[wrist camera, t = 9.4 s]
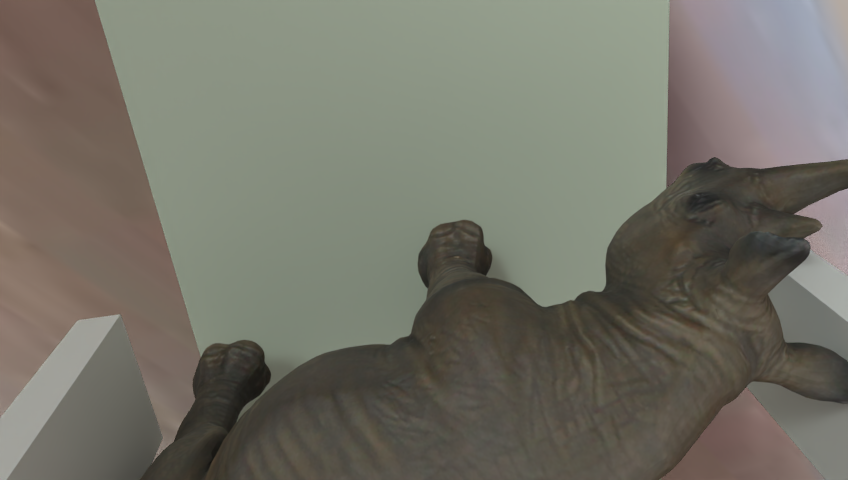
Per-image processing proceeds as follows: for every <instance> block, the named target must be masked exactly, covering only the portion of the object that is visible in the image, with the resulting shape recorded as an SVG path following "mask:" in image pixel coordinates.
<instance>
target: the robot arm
mask: <svg viewBox="0 0 848 480" xmlns="http://www.w3.org/2000/svg"><path fill="white" fill-rule="evenodd" d="M768 295H769V297H770V299H771V302H772V304H773V306H774V308H775V310H776V312H777V314H778V317H779V319H780V323H781V327H782V331H783V337H784V340H785V342H787V343H794V342H801V343H809V344H814V345H820V346H822V347H825V348H828V349H830V350H832V351H834V352H836V353H837V354H838V355H840V356H841V357H843V358H844V359H846V360H847V361H848V275H846V274H845V273H843V272H842V271H840V270H839V269H837V268H836V267H835V266H833V265H832V264H830V263H829V262H827V261H826V260H824V259H823V258H822V257H820V256H819V255H817V254H816V253H814V252H813V251H811V250H810V254H809V256H808V257H807V259H806V260H805V261H803V262H802V263H801V264H800V265H799V266H798V267H797V268H795V269H794V270H793V271H792V272H791V273H790V274H788V275H787V276H786V277H785V278H784V279H783V280H782V281H780V282H779V283H778V284H777V285H776V286H775V287H774V288H773V289H772V290H771V291H770V292H769V293H768ZM747 388H748V389H749V390H750V391H751V393H752V394H753V395H754V396H755V397H756V398H757V400H758V401H759V402H760V403H761V404H762V406H763V407H764V408H765V409H766V410H767V411H768V413H769V414H770V415H771V416H772V417H773V418H774V420H775V421H776V422H777V423H778V424H779V425H780V427H781V428H782V429H783V430H784V431H785V433H786V434H787V435H788V436H789V437H790V438H791V440H792V441H793V442H794V443H795V444H796V445H797V447H798V448H799V449H800V450H801V451H802V452H803V454H804V455H805V456H806V457H807V458H808V460H809V461H810V462H811V463H812V464H813V465H814V467H815V468H816V469H817V470H818V471H819V472H820V474H821V475H822V476H823V477H824V478H825V480H848V404H841V403H836V402H829V401H819V400H814V399H810V398H806V397H804V396H801V395H799V394H797V393H795V392H792V391H790V390H788V389H786V388H784V387H782V386H780V385H777V384H773V383H766V382H751V383H750V384H749V385H747ZM162 438H163V436H162V434H161V431H160V428H159V425H158V422H157V419H156V416H155V413H154V410H153V407H152V404H151V401H150V399H149V396H148V393H147V390H146V387H145V384H144V381H143V378H142V375H141V372H140V369H139V367H138V364H137V361H136V358H135V355H134V352H133V349H132V346H131V343H130V340H129V337H128V334H127V332H126V329H125V326H124V323H123V320H122V317H121V314H119V315H112V316H105V317H98V318H91V319H83V320H78V321H77V322H76V323H75V324H74V326H73V327H72V328H71V329H70V331H69V332H68V333H67V334H66V336H65V337H64V338H63V339H62V341H61V342H60V343H59V344H58V346H57V347H56V348H55V350H54V351H53V352H52V353H51V355H50V356H49V357H48V358H47V360H46V361H45V362H44V363H43V365H42V366H41V367H40V368H39V370H38V371H37V372H36V373H35V375H34V376H33V377H32V379H31V380H30V381H29V382H28V384H27V385H26V386H25V387H24V389H23V390H22V391H21V392H20V394H19V395H18V396H17V397H16V399H15V400H14V401H13V402H12V404H11V405H10V406H9V408H8V409H7V410H6V411H5V413H4V414H3V415H2V416H1V418H0V480H140V479H141V477H142V476H143V474H144V473H145V472H146V470H147V469H148V468H149V467H150V466H151V464H152V462H153V459H154V457H155V455H156V452H157V450H158V448H159V445H160V443H161V441H162Z"/></svg>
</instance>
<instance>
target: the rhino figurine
mask: <svg viewBox="0 0 848 480" xmlns="http://www.w3.org/2000/svg"><path fill="white" fill-rule="evenodd" d="M847 188H848V159H846V160H838V161H831V162H820V163H809V164H799V165H790V166H781V167H773V168H765V169H755V168H734V167H730V166H728V165H726V164H725V163H723V162H722V161H721V160H720V159H718V158H716V157H714V158H711V159H710V160H709V161H708V162H706V163H695V164H691V165H690V166H688V167H687V168H685V169H684V171H683V172H682V173H681V175H680V176H679V177H678V178H677V179H676V181H675V182H674V183H673V184H672V185H670V186H669V187H668V188H667V189H666V190H664V191H663V192H662V193H661V194H659V195H658V196H657V197H656V198H655V199H654V200H653V201H652V202H650V203H649V204H647V205H645V206H644V207H642V208H641V209H640V210H638V211H637V212H636V213H634V214H633V215H632V216H631V217H629V218H628V219H627V220H626V221H625V222H624V223H623V224H622V225H621V227H620V228H619V229H618V230H617V232H616V233H615V235H614V237H613V239H612V240H611V242H610V244H609V246H608V248H607V253H606V262H605V270H606V286H605V288H604V289H603V291H602V292H595V291H587V292H583V293H581V294H580V295H579V296H577V297H576V299H575V300H569V301H567V302H564V303H562V304H556V305H552V306H548V307H542V306H540V305H538V304H537V303H536V302H535V301H534V300H533V299H532V298H531V297H529V296H528V295H527V294H526V293H525V292H524V291H523V290H522V289H521V288H520V287H518V286H516V285H514V284H512V283H510V282H507V281H504V280H500V279H497V278H489V277H487V276H486V275H487V273H488V271H489V269H490V267H491V263H492V253H491V250H490V249H489V248H488V247H486V246H485V244H484V235H483V230H482V228H481V226H479V225H477V224H476V223H474V222H473V221H470V220H460V221H455V222H450V223H443V224H440V225H438V226H436V227H435V228H433V229H432V231H431V232H430V235H429V237H428V240H427V242H426V244H425V245H424V246H423V247H422V249H421V251H420V252H419V255H418V272H419V275H420V277H421V279H422V282H423V283H424V285H425V286H426V287H427V288H428V291H427V297H426V301H425V302H424V303H423V305H422V306H421V308H420V309H419V311H418V312H417V314H416V316H415V319H414V322H413V326H412V330H411V334H410V335H409V336H406V337H401V338H399V339H397V340H396V341H395V342H393V343H392V344H390V345H388V344H369V345H361V346H354V347H347V348H343V349H338V350H334V351H330V352H326V353H323V354H321V355H318V356H316V357H314V358H312V359H310V360H309V361H307V362H305V363H303V364H301V365H300V366H298V367H297V368H295V369H294V370H293V371H291V372H290V373H289V374H287V375H286V376H284V377H283V378H282V379H281V380H279V381H278V382H277V383H276V384H274V385H273V386H272V387H271V388H270V389H269V390H267V391H266V392H265V393H264V394H263V395H262V396H261V397H260V398H259V399H257V400H256V401H255V403H254V404H253V405H252V406H251V407H250V408H249V409H248V410H247V411H246V412H245V413H244V414H243V415H242V416H241V417H240V419H239V420H238V421H237V419H238V416H239V414H240V412H241V411H242V409H243V408H244V407H245V405H246V404H248V403H249V402H250V401H252V400H254V399H255V398H257V397H258V396H260V395H261V393H262V392H263V391H264V389H265V387H266V386H267V385H268V384H269V382H270V379H271V372H270V369H269V367H268V366H267V365H266V364H265V354H264V351H263V349H262V348H261V347H260V346H259V345H258V344H257V343H255V342H253V341H250V340H239V341H236V342H234V343H231V344H222V343H214V344H212V345H210V346H209V347H207V348H206V349H205V351H204V352H203V354H202V356H201V358H200V361H199V364H198V367H197V369H196V372H195V375H194V378H193V391H194V395H195V398H196V400H195V402H194V404H193V406H192V408H191V409H190V411H189V412H188V414H187V415H186V417H185V418H184V420H183V421H182V423H181V425H180V427H179V430H178V432H177V435H176V438H175V440H174V442H173V443H172V444H170V445H169V446H168V447H167V448H166V449H165V450H163V451H162V452H161V454H160V455H159V456H158V457H157V458H156V460H155V461H154V462H153V463H152V465H151V466H150V467H149V468H148V469H147V470H146V472H145V473H144V474H143V476H142V477H141V479H140V480H659V479H661V478H662V477H663V476H664V475H666V474H667V473H668V472H670V471H671V470H672V469H673V468H674V467H675V466H676V465H677V464H678V463H679V462H680V461H681V459H682V458H683V457H684V456H685V454H686V453H687V452H688V451H689V449H690V448H691V447H692V445H693V444H694V443H695V442H696V440H697V439H698V438H699V436H700V435H701V434H702V433H703V431H704V430H705V429H706V428H707V426H708V425H709V424H710V423H711V421H712V420H713V419H714V417H715V416H716V415H717V414H718V412H719V411H720V410H721V408H722V407H723V406H724V405H726V404H728V403H730V402H731V401H733V400H734V399H736V398H737V397H738V395H739V394H740V393H741V392H742V391H743V390H744V389H745V388H746V387H747V385H749V384H750V383H751V382H766V383H773V384H777V385H780V386H782V387H784V388H786V389H788V390H790V391H792V392H795V393H797V394H799V395H801V396H804V397H806V398H810V399H814V400H819V401H829V402H836V403H841V404H848V361H847V360H846V359H844V358H843V357H841V356H840V355H838V354H837V353H836V352H834V351H832V350H830V349H828V348H825V347H822V346H820V345H814V344H809V343H801V342H794V343H787V342H785V340H784V337H783V331H782V327H781V323H780V319H779V317H778V314H777V312H776V310H775V308H774V306H773V304H772V302H771V299H770V297H769V295H768V293H769V292H770V291H771V290H772V289H773V288H774V287H775V286H776V285H777V284H778V283H779V282H780V281H782V280H783V279H784V278H785V277H786V276H787V275H788V274H790V273H791V272H792V271H793V270H794V269H795V268H797V267H798V266H799V265H800V264H801V263H802V262H803V261H805V260H806V259H807V257H808V256H809V254H810V244H809V242H808V241H807V240H805V239H803V238H805V237H807V236H809V235H811V234H813V233H815V232H817V231H819V230H820V229H821V227H822V224H821V223H820V222H819V221H818V220H816V219H813V218H809V217H804V216H799V215H794V214H795V213H796V212H798V211H800V210H801V209H803V208H805V207H806V206H808V205H810V204H812V203H815V202H817V201H819V200H821V199H823V198H825V197H828V196H830V195H832V194H834V193H836V192H838V191H841V190H844V189H847Z"/></svg>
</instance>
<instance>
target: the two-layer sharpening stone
mask: <svg viewBox="0 0 848 480" xmlns="http://www.w3.org/2000/svg"><path fill="white" fill-rule="evenodd" d="M669 2H670V0H95V3H96V6H97V9H98V13H99V16H100V20H101V23H102V26H103V30H104V33H105V36H106V40H107V43H108V47H109V50H110V53H111V57H112V60H113V63H114V67H115V70H116V73H117V77H118V80H119V84H120V87H121V90H122V94H123V97H124V100H125V104H126V107H127V110H128V114H129V117H130V121H131V124H132V127H133V131H134V134H135V137H136V141H137V144H138V147H139V151H140V154H141V158H142V161H143V164H144V168H145V171H146V174H147V178H148V181H149V184H150V188H151V191H152V195H153V198H154V201H155V205H156V208H157V211H158V215H159V218H160V221H161V225H162V228H163V232H164V235H165V238H166V242H167V245H168V248H169V252H170V255H171V258H172V262H173V265H174V269H175V272H176V275H177V279H178V282H179V285H180V289H181V292H182V296H183V299H184V302H185V306H186V309H187V312H188V316H189V319H190V322H191V326H192V329H193V333H194V336H195V339H196V343H197V346H198V349H199V353H200V356H202V354H203V352H204V351H205V349H206V348H207V347H209V346H210V345H212V344H214V343H222V344H231V343H234V342H236V341H239V340H250V341H253V342H255V343H257V344H258V345H259V346H260V347H261V348H262V349H263V351H264V354H265V364H266V365H267V366H268V367H269V369H270V372H271V379H270V382H269V384H268V385H267V386H266V387H265V389H264V391H263V392H262V393H261V395H260V396H258V397H257V398H255V399H254V400H252V401H250V402H249V403H248V404H246V405H245V407H244V408H243V409H242V411H241V412H240V414H239V416H238V419H237V421H238V420H239V419H240V417H241V416H242V415H243V414H244V413H245V412H246V411H247V410H248V409H249V408H250V407H251V406H252V405H253V404H254V403H255V401H256V400H257V399H259V398H260V397H261V396H262V395H263V394H264V393H265V392H266V391H267V390H269V389H270V388H271V387H272V386H273V385H274V384H276V383H277V382H278V381H279V380H281V379H282V378H283V377H284V376H286V375H287V374H289V373H290V372H291V371H293V370H294V369H295V368H297V367H298V366H300V365H301V364H303V363H305V362H307V361H309V360H310V359H312V358H314V357H316V356H318V355H321V354H323V353H326V352H330V351H334V350H338V349H343V348H347V347H354V346H361V345H369V344H388V345H390V344H392V343H393V342H395V341H396V340H397V339H399V338H401V337H406V336H409V335H410V334H411V330H412V326H413V322H414V319H415V316H416V314H417V312H418V311H419V309H420V308H421V306H422V305H423V303H424V302H425V301H426V297H427V291H428V288H427V287H426V286H425V285H424V283H423V282H422V279H421V277H420V275H419V272H418V255H419V252H420V251H421V249H422V247H423V246H424V245H425V244H426V242H427V240H428V237H429V235H430V232H431V231H432V229H433V228H435V227H436V226H438V225H440V224H443V223H450V222H455V221H460V220H470V221H473V222H474V223H476V224H477V225H479V226H481V228H482V230H483V235H484V244H485V246H486V247H488V248H489V249H490V250H491V253H492V263H491V267H490V269H489V271H488V273H487V275H486V276H487V277H489V278H497V279H500V280H504V281H507V282H510V283H512V284H514V285H516V286H518V287H520V288H521V289H522V290H523V291H524V292H525V293H526V294H527V295H528V296H529V297H531V298H532V299H533V300H534V301H535V302H536V303H537V304H538V305H540V306H542V307H548V306H552V305H556V304H562V303H564V302H567V301H569V300H575V299H576V297H577V296H579V295H580V294H581V293H583V292H587V291H595V292H602V291H603V289H604V288H605V286H606V270H605V262H606V253H607V248H608V246H609V244H610V242H611V240H612V239H613V237H614V235H615V233H616V232H617V230H618V229H619V228H620V227H621V225H622V224H623V223H624V222H625V221H626V220H627V219H628V218H629V217H631V216H632V215H633V214H634V213H636V212H637V211H638V210H640V209H641V208H642V207H644V206H645V205H647V204H649V203H650V202H652V201H653V200H654V199H655V198H656V197H657V196H658V195H659V194H661V193H662V192H663V191H664V190H666V176H667V118H668V60H669ZM659 480H661V479H659Z"/></svg>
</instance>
